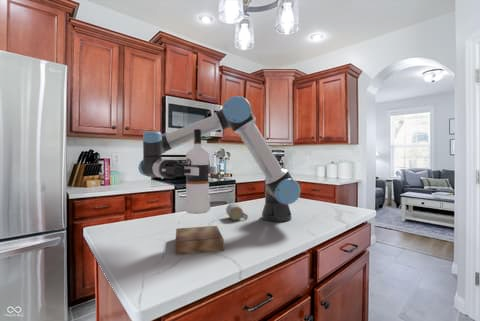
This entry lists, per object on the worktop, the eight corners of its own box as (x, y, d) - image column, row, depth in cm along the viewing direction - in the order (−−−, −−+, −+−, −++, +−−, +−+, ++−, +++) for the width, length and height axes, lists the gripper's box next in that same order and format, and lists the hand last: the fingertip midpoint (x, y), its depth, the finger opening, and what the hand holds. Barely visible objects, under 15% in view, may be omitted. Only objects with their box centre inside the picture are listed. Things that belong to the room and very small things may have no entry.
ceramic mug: (229, 221, 120) (229, 206, 120) (226, 217, 128) (226, 202, 128) (250, 220, 123) (250, 205, 123) (245, 216, 131) (245, 202, 131)
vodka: (214, 212, 88) (215, 128, 88) (191, 215, 83) (191, 127, 82) (203, 207, 96) (203, 130, 95) (180, 210, 90) (180, 129, 90)
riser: (216, 235, 99) (216, 225, 99) (223, 250, 84) (223, 238, 84) (176, 238, 96) (176, 228, 95) (175, 255, 80) (175, 242, 80)
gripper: (186, 176, 108) (225, 179, 95) (143, 179, 91) (184, 184, 78) (186, 159, 108) (225, 159, 94) (143, 159, 91) (184, 160, 78)
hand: (207, 170), depth 86 cm, fingers closed on vodka, 8 cm apart
